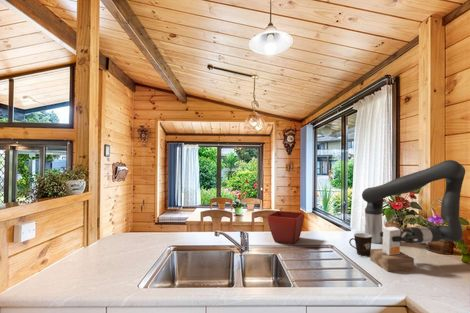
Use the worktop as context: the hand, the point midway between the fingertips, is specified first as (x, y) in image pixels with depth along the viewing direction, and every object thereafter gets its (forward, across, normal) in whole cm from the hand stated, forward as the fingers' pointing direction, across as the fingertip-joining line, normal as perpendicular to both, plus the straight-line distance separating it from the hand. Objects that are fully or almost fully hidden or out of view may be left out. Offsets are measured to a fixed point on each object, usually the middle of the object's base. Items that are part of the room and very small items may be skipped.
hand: (386, 236), depth 123 cm
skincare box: (-2, 0, +8) cm, 8 cm away
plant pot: (+34, -48, +14) cm, 60 cm away
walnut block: (-2, 0, +14) cm, 14 cm away
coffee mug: (+3, -17, +14) cm, 22 cm away
